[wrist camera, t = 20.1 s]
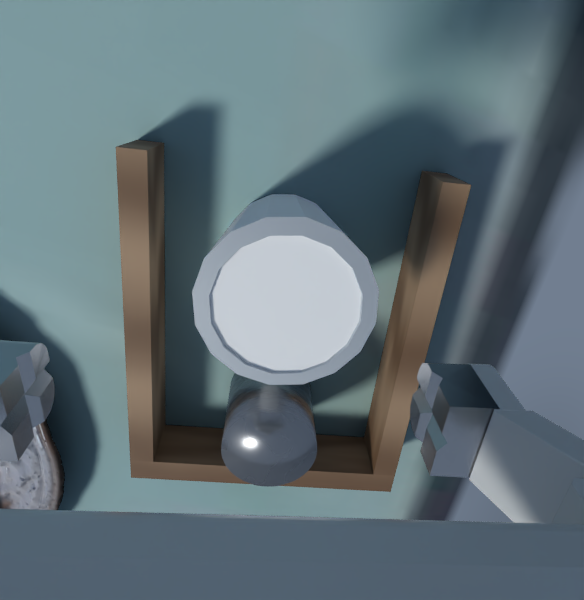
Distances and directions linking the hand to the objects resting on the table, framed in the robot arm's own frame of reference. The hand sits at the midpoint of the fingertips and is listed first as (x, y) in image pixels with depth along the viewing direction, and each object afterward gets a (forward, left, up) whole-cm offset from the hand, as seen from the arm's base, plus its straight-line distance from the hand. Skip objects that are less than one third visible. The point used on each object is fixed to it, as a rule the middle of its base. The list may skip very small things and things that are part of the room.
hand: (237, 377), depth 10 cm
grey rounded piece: (+10, +2, -14) cm, 17 cm away
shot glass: (+1, +1, -14) cm, 14 cm away
